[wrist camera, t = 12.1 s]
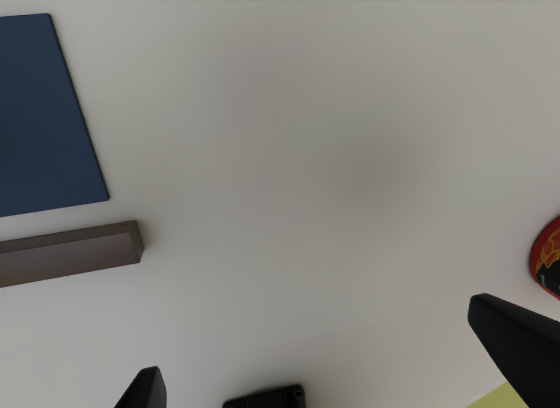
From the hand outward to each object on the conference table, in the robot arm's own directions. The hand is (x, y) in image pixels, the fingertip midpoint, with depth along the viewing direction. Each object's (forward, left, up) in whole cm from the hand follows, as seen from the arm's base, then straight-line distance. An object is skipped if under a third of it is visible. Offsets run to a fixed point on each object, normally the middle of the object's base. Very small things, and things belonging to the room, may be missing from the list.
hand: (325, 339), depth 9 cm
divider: (-2, +15, -12) cm, 19 cm away
